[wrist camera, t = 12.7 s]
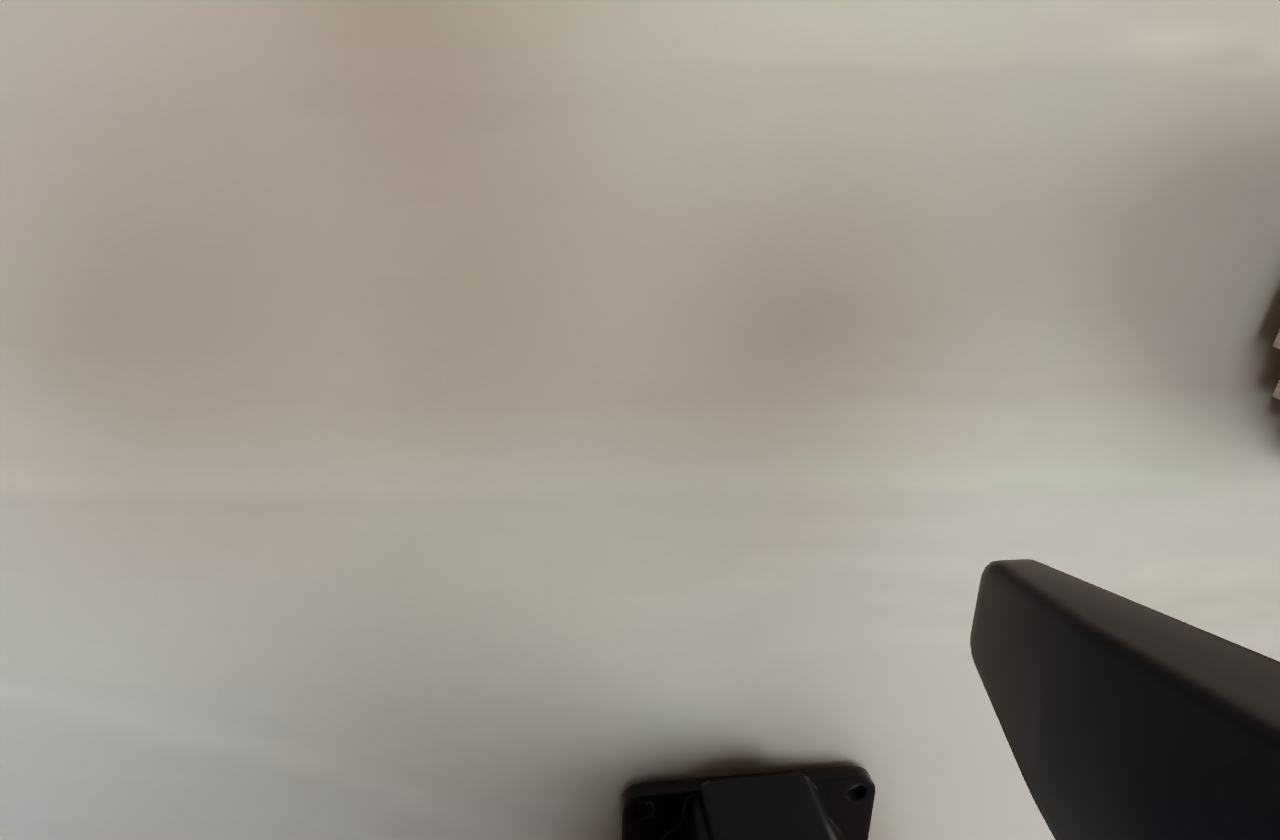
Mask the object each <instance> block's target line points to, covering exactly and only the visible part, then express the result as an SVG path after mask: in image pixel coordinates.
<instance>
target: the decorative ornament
mask: <svg viewBox="0 0 1280 840" xmlns="http://www.w3.org/2000/svg"><path fill="white" fill-rule="evenodd" d="M1273 347H1275V348H1277V349H1280V330H1279V333H1278V335H1277V337H1276V339H1275V342H1274V344H1273ZM1272 396H1273V397H1275V398H1277V399H1279V400H1280V380H1279V382H1278V384H1277V387H1276V389H1275V391H1274V393H1273V395H1272Z"/></svg>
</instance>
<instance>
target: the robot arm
mask: <svg viewBox="0 0 1280 840" xmlns="http://www.w3.org/2000/svg"><path fill="white" fill-rule="evenodd" d="M970 645H971V653H972V657H973V660H974V663H975V666H976V668H977V670H978V673H979V675H980V677H981V680H982V682H983V684H984V687H985V689H986V691H987V694H988V696H989V698H990V701H991V703H992V705H993V708H994V710H995V712H996V715H997V717H998V719H999V722H1000V724H1001V726H1002V729H1003V731H1004V733H1005V736H1006V738H1007V740H1008V743H1009V745H1010V747H1011V750H1012V752H1013V754H1014V757H1015V759H1016V761H1017V763H1018V766H1019V768H1020V770H1021V773H1022V775H1023V777H1024V780H1025V782H1026V784H1027V786H1028V788H1029V790H1030V792H1031V794H1032V797H1033V799H1034V801H1035V803H1036V805H1037V806H1038V808H1039V810H1040V812H1041V814H1042V816H1043V818H1044V820H1045V821H1046V823H1047V825H1048V827H1049V829H1050V831H1051V832H1052V834H1053V836H1054V838H1055V839H1056V840H1280V662H1279V661H1276V660H1274V659H1271V658H1269V657H1267V656H1264V655H1262V654H1259V653H1257V652H1254V651H1252V650H1250V649H1247V648H1245V647H1242V646H1240V645H1238V644H1235V643H1233V642H1230V641H1228V640H1225V639H1223V638H1221V637H1218V636H1216V635H1213V634H1211V633H1209V632H1206V631H1204V630H1201V629H1199V628H1196V627H1194V626H1192V625H1189V624H1187V623H1184V622H1182V621H1180V620H1177V619H1175V618H1172V617H1170V616H1168V615H1165V614H1163V613H1160V612H1158V611H1155V610H1153V609H1151V608H1148V607H1146V606H1143V605H1141V604H1139V603H1136V602H1134V601H1131V600H1129V599H1126V598H1124V597H1122V596H1119V595H1117V594H1114V593H1112V592H1110V591H1107V590H1105V589H1102V588H1100V587H1097V586H1095V585H1093V584H1090V583H1088V582H1085V581H1083V580H1081V579H1078V578H1076V577H1073V576H1071V575H1069V574H1066V573H1064V572H1061V571H1059V570H1056V569H1054V568H1052V567H1049V566H1047V565H1044V564H1042V563H1040V562H1037V561H1034V560H1029V559H1019V560H1001V561H993V562H991V563H990V564H989V565H987V566H986V567H985V569H984V571H983V573H982V577H981V581H980V586H979V592H978V597H977V603H976V608H975V614H974V619H973V624H972V630H971V637H970ZM855 785H858V786H857V787H856V788H854V789H850V788H851V787H852V786H855ZM874 795H875V785H874V783H873V781H872V779H871V777H870V775H869V774H868V772H867V771H866V770H865V769H863V768H861V767H855V766H851V767H839V768H826V769H813V770H800V771H787V772H774V773H761V774H748V775H735V776H722V777H709V778H696V779H683V780H670V781H657V782H645V783H638V784H634V785H632V786H630V787H629V788H627V789H626V790H625V791H624V793H623V794H622V797H621V808H620V839H619V840H868V834H869V828H870V821H871V815H872V808H873V802H874ZM642 802H647V804H646V805H644V806H636V805H637V804H638V803H642Z"/></svg>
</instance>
